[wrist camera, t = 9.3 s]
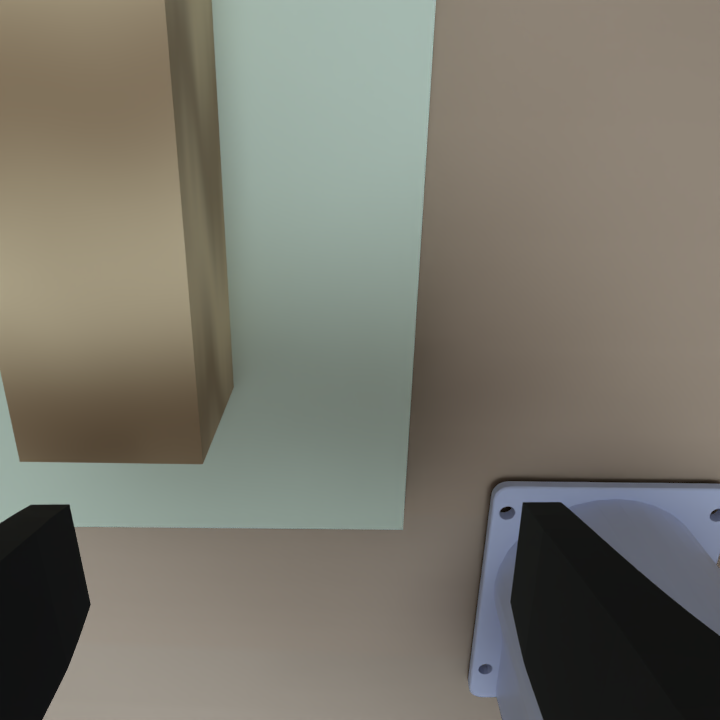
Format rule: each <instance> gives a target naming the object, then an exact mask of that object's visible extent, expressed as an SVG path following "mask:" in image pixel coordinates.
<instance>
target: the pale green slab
mask: <svg viewBox="0 0 720 720" xmlns="http://www.w3.org/2000/svg"><path fill="white" fill-rule="evenodd" d="M435 6H436V0H212V15H213V32H214V50H215V67H216V85H217V102H218V120H219V137H220V155H221V172H222V190H223V207H224V225H225V242H226V260H227V277H228V295H229V312H230V330H231V348H232V365H233V383H234V388H233V390H232V393H231V395H230V398H229V400H228V403H227V405H226V408H225V410H224V413H223V415H222V418H221V420H220V423H219V425H218V428H217V430H216V433H215V435H214V438H213V440H212V443H211V445H210V448H209V450H208V453H207V455H206V458H205V460H204V463H203V464H142V463H69V462H20V461H19V456H18V451H17V447H16V442H15V437H14V433H13V428H12V424H11V419H10V414H9V410H8V405H7V400H6V396H5V391H4V386H3V382H2V377H1V372H0V523H1V522H3V521H4V520H6V519H7V518H9V517H11V516H12V515H14V514H15V513H17V512H19V511H21V510H22V509H24V508H26V507H28V506H29V505H44V504H70V509H71V514H72V519H73V523H74V527H163V528H272V529H381V530H403V520H404V504H405V488H406V472H407V456H408V440H409V424H410V408H411V392H412V375H413V359H414V343H415V327H416V311H417V295H418V279H419V263H420V247H421V231H422V215H423V199H424V183H425V167H426V151H427V135H428V119H429V103H430V87H431V71H432V54H433V38H434V22H435Z"/></svg>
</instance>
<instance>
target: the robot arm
mask: <svg viewBox="0 0 720 720" xmlns="http://www.w3.org/2000/svg"><path fill="white" fill-rule="evenodd" d="M507 506H509V507H512V508H511V510H509V511H508V512H500V510H501V509H502V508H504V507H507ZM715 509H718V511H717V512H715V513H714V514H711V512H712V511H714V510H715ZM719 554H720V484H709V483H619V482H530V481H507V482H502V483H500V484H498V485H497V486H496V487H495V488H494V489H493V491H492V494H491V501H490V509H489V517H488V525H487V533H486V541H485V549H484V557H483V565H482V573H481V581H480V589H479V596H478V604H477V612H476V620H475V628H474V636H473V644H472V652H471V660H470V668H469V676H468V684H469V689H470V692H471V693H472V694H473V695H475V696H478V697H497V701H498V705H499V709H500V713H501V717H502V720H720V568H719V567H718V566H717V565H716V564H717V561H718V557H719ZM90 605H91V604H90V600H89V595H88V590H87V585H86V581H85V576H84V571H83V566H82V562H81V557H80V552H79V547H78V543H77V538H76V533H75V528H74V523H73V519H72V514H71V509H70V504H44V505H29V506H28V507H26V508H24V509H22V510H21V511H19V512H17V513H15V514H14V515H12V516H11V517H9V518H7V519H6V520H4V521H3V522H1V523H0V720H42V719H43V717H44V715H45V713H46V711H47V709H48V707H49V705H50V703H51V701H52V699H53V697H54V695H55V693H56V691H57V689H58V687H59V685H60V683H61V681H62V679H63V677H64V675H65V673H66V671H67V669H68V666H69V664H70V661H71V658H72V656H73V653H74V651H75V648H76V645H77V643H78V640H79V637H80V634H81V631H82V628H83V625H84V623H85V620H86V617H87V614H88V611H89V608H90ZM483 664H487V665H483Z"/></svg>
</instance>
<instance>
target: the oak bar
mask: <svg viewBox="0 0 720 720" xmlns="http://www.w3.org/2000/svg"><path fill="white" fill-rule="evenodd" d="M0 372H1V377H2V382H3V386H4V391H5V396H6V400H7V405H8V410H9V414H10V419H11V424H12V428H13V433H14V437H15V442H16V447H17V451H18V456H19V461H20V462H69V463H142V464H203V463H204V460H205V458H206V455H207V453H208V450H209V448H210V445H211V443H212V440H213V438H214V435H215V433H216V430H217V428H218V425H219V423H220V420H221V418H222V415H223V413H224V410H225V408H226V405H227V403H228V400H229V398H230V395H231V393H232V390H233V388H234V383H233V365H232V348H231V330H230V312H229V295H228V277H227V260H226V242H225V225H224V207H223V190H222V172H221V155H220V137H219V120H218V102H217V85H216V67H215V50H214V32H213V15H212V0H0Z"/></svg>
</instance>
